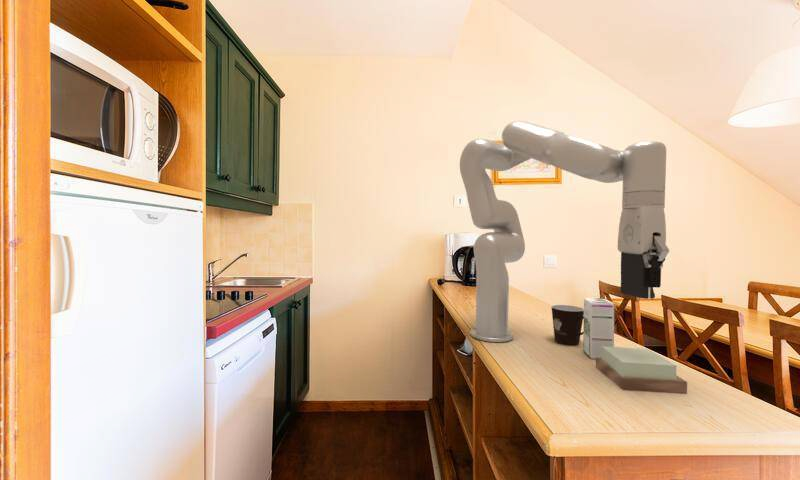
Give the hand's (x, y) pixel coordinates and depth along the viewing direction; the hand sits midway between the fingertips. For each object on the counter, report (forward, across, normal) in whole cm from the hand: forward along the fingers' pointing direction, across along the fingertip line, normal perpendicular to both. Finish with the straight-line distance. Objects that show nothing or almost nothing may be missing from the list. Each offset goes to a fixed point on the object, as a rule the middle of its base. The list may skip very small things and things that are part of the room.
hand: (640, 283), depth 75 cm
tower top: (+19, 0, 0) cm, 19 cm away
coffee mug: (+21, -24, -6) cm, 32 cm away
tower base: (+22, 0, 0) cm, 22 cm away
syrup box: (+21, -14, -2) cm, 26 cm away
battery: (+3, 0, 0) cm, 3 cm away
